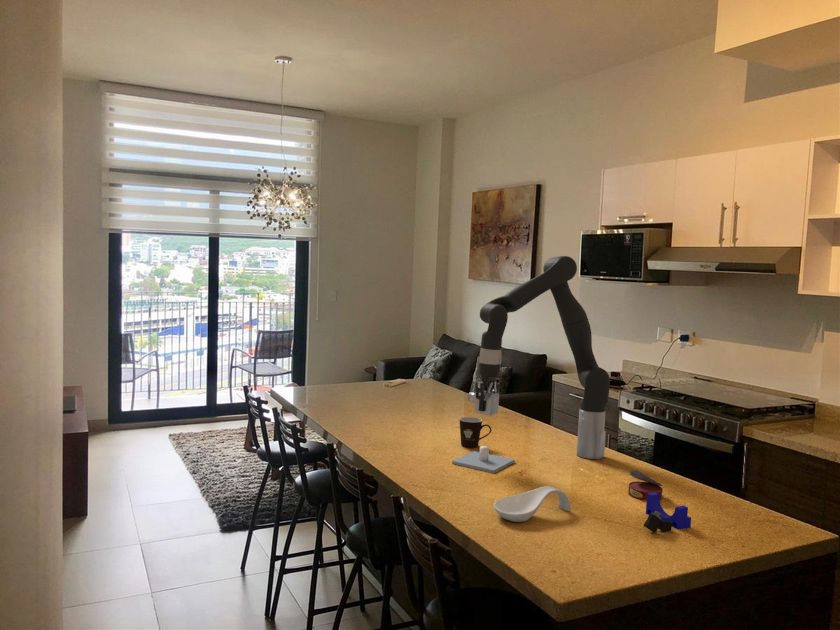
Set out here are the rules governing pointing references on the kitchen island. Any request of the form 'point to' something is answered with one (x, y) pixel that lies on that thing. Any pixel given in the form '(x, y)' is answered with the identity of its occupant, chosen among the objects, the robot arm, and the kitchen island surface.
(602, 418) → the robot arm
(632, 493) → the canned food
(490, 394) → the cube on steel peg
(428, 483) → the kitchen island surface
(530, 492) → the spoon rest
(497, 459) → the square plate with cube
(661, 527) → the black notched bracket
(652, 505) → the cable clip
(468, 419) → the coffee mug
